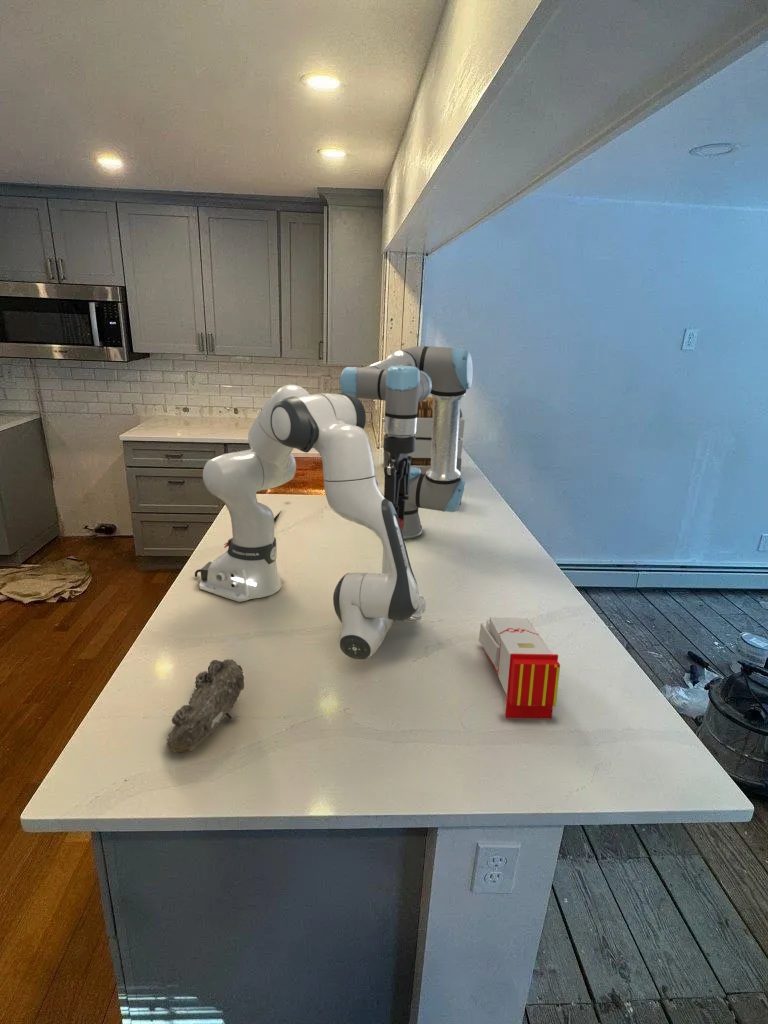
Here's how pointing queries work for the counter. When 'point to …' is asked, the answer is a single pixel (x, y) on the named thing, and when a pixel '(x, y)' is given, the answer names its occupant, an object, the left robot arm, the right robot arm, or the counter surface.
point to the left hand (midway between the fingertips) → (392, 587)
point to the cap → (401, 523)
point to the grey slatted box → (428, 436)
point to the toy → (522, 666)
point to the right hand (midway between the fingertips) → (394, 527)
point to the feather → (276, 517)
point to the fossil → (206, 705)
